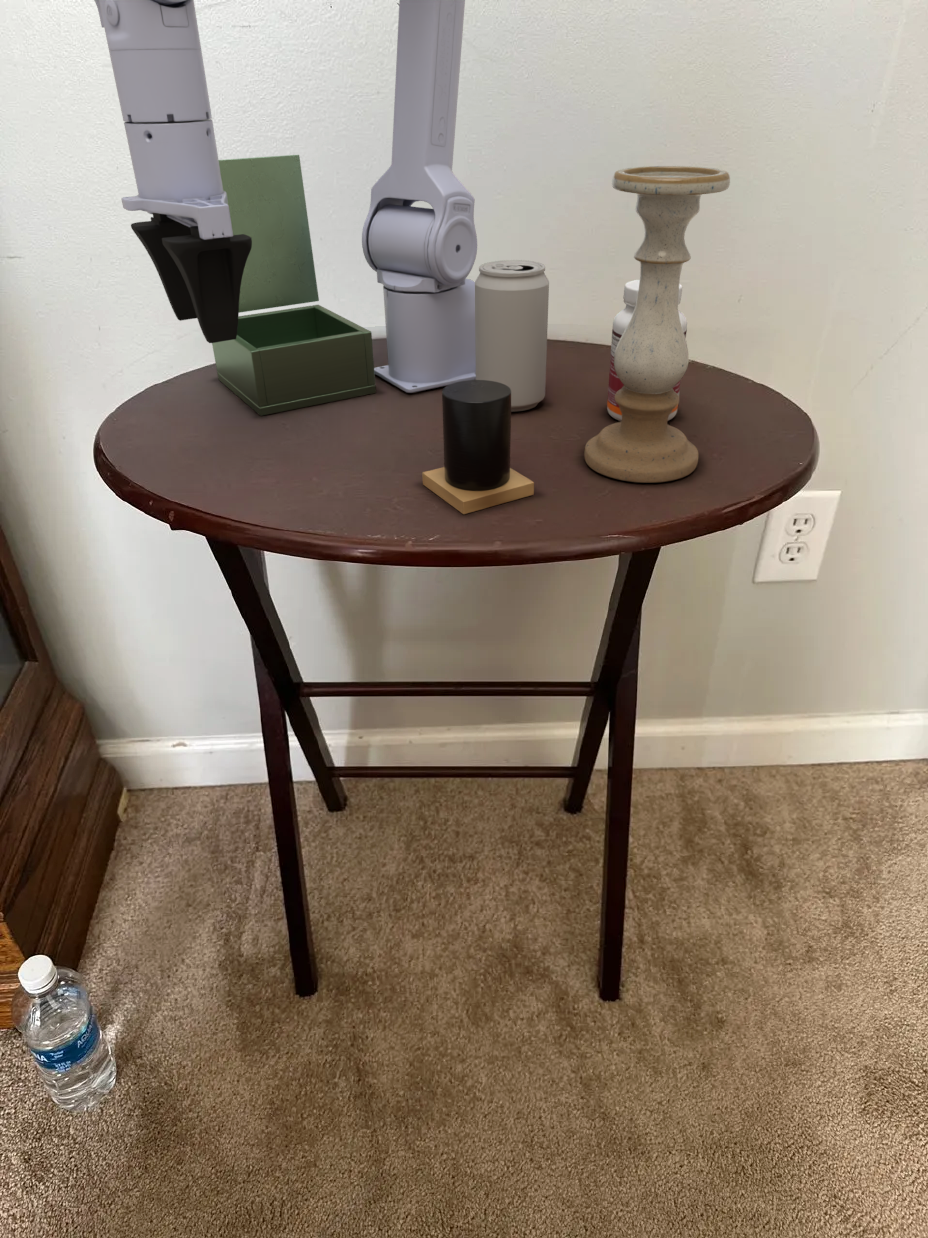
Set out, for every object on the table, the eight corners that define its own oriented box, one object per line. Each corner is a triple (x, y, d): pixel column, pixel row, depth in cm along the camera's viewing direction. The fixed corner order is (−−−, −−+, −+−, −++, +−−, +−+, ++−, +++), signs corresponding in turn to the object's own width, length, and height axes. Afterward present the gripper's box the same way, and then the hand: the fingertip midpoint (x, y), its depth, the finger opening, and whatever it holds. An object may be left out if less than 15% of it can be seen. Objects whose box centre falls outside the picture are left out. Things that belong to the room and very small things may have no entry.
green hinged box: (376, 392, 81) (371, 331, 78) (260, 416, 76) (250, 351, 73) (324, 360, 90) (318, 304, 87) (218, 379, 85) (207, 320, 82)
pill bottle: (653, 399, 79) (667, 273, 72) (690, 421, 74) (708, 288, 68) (593, 408, 77) (602, 280, 71) (627, 431, 72) (640, 295, 66)
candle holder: (561, 462, 66) (576, 172, 55) (626, 432, 72) (652, 161, 60) (656, 495, 61) (694, 182, 50) (718, 459, 67) (765, 169, 55)
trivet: (490, 467, 66) (490, 454, 66) (533, 494, 62) (534, 482, 61) (422, 484, 64) (422, 472, 63) (463, 514, 59) (463, 501, 59)
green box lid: (299, 154, 80) (297, 154, 81) (177, 162, 75) (175, 162, 76) (319, 300, 87) (317, 300, 87) (208, 317, 82) (206, 316, 82)
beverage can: (540, 416, 75) (545, 273, 69) (469, 412, 76) (467, 271, 70) (548, 393, 80) (554, 258, 74) (482, 389, 81) (482, 256, 75)
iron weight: (432, 473, 63) (429, 387, 59) (487, 459, 65) (487, 375, 61) (466, 496, 59) (464, 406, 56) (522, 481, 61) (524, 393, 58)
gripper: (84, 119, 60) (129, 316, 68) (133, 129, 50) (180, 360, 57) (183, 114, 63) (215, 303, 71) (249, 123, 53) (278, 344, 60)
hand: (205, 328), depth 64 cm, fingers open, 7 cm apart
